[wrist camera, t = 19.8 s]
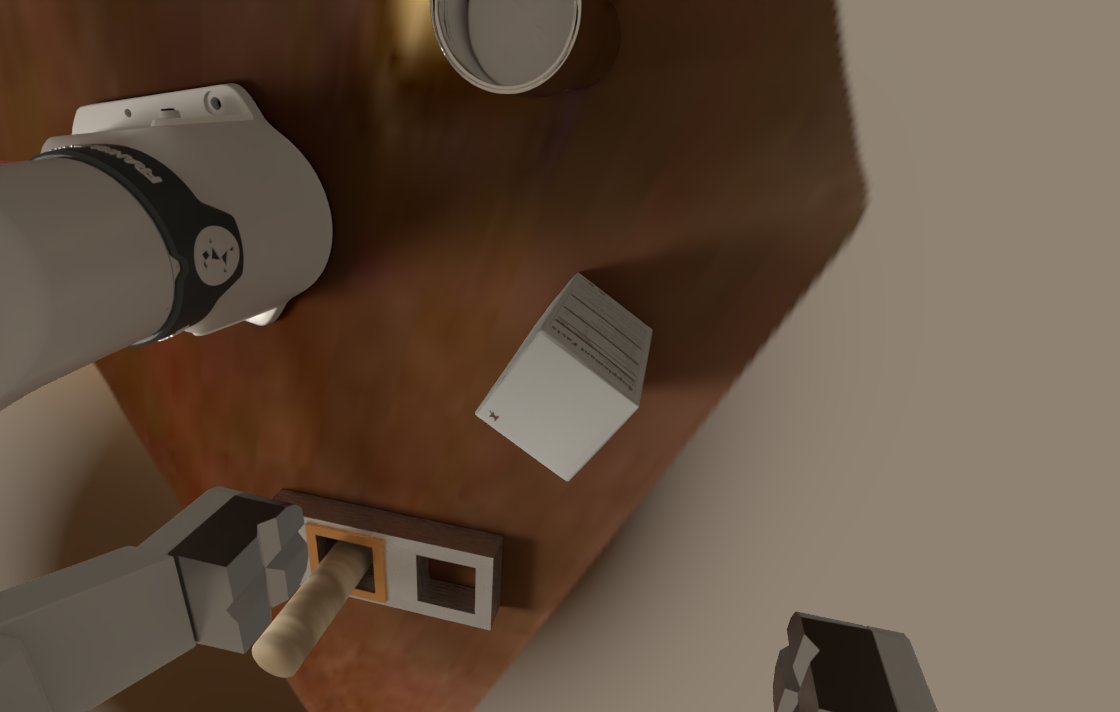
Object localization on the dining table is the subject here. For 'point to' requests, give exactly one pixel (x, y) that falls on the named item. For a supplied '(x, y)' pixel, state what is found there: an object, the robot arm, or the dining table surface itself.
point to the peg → (311, 609)
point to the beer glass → (527, 43)
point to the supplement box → (571, 379)
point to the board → (406, 558)
